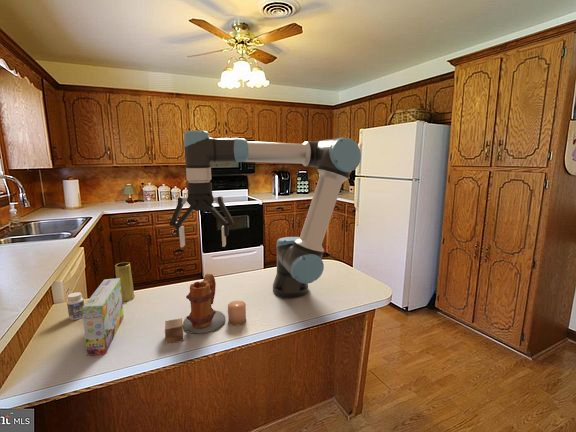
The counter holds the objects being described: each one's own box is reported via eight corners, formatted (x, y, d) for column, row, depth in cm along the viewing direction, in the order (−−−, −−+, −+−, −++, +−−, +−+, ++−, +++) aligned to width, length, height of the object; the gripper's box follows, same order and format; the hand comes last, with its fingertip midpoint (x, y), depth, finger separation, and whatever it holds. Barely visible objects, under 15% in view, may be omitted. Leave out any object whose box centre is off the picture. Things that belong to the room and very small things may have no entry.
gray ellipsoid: (228, 311, 110) (228, 309, 110) (220, 333, 96) (220, 331, 96) (190, 311, 110) (190, 309, 110) (177, 334, 96) (176, 331, 96)
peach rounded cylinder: (246, 316, 107) (246, 300, 106) (244, 325, 101) (244, 309, 100) (230, 316, 107) (229, 300, 106) (226, 325, 101) (226, 309, 100)
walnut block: (183, 332, 97) (182, 318, 96) (183, 340, 93) (182, 326, 92) (166, 335, 96) (165, 321, 95) (166, 344, 91) (164, 329, 90)
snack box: (108, 353, 87) (102, 305, 84) (86, 357, 85) (79, 308, 82) (125, 316, 107) (120, 276, 104) (107, 319, 105) (102, 278, 102)
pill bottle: (75, 321, 104) (72, 298, 102) (66, 318, 105) (62, 296, 104) (88, 314, 108) (85, 292, 106) (79, 312, 110) (76, 290, 108)
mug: (206, 333, 95) (204, 289, 92) (183, 330, 97) (180, 287, 94) (224, 310, 109) (223, 271, 106) (204, 308, 111) (202, 270, 108)
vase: (118, 303, 116) (114, 268, 113) (117, 297, 121) (113, 263, 119) (135, 299, 119) (132, 265, 117) (133, 293, 125) (130, 260, 122)
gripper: (240, 180, 99) (242, 242, 103) (164, 180, 98) (169, 243, 103) (237, 182, 92) (240, 248, 96) (154, 182, 91) (161, 249, 95)
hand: (203, 246), depth 99 cm, fingers open, 13 cm apart
